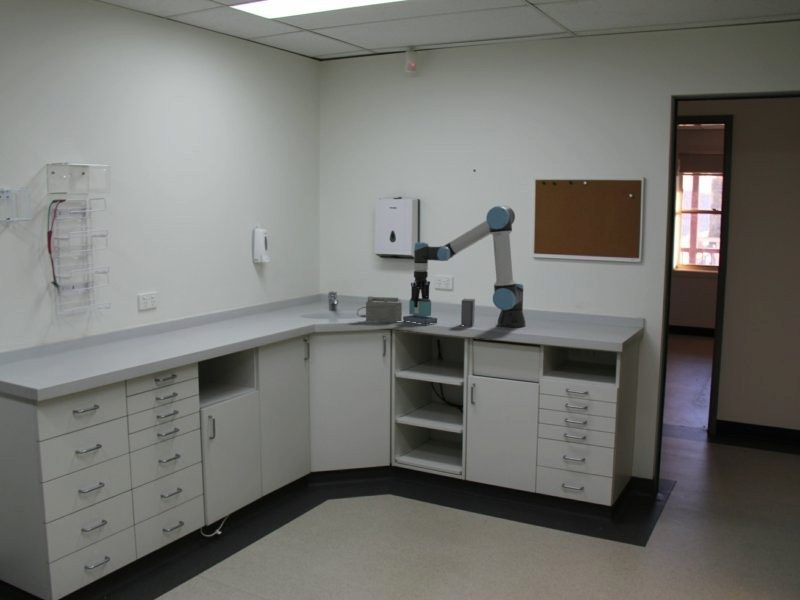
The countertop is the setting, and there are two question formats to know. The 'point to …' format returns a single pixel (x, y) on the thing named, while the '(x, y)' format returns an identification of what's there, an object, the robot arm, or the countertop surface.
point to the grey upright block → (467, 312)
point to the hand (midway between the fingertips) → (419, 312)
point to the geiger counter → (383, 309)
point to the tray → (420, 319)
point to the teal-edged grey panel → (421, 307)
